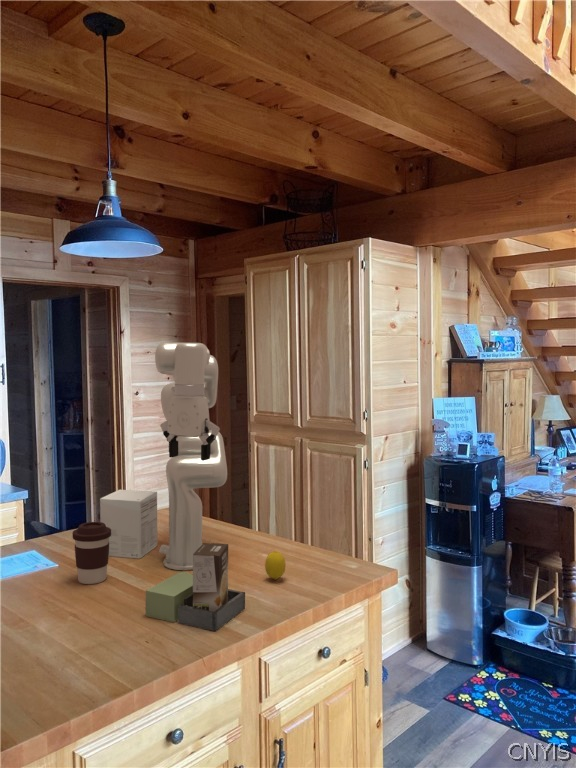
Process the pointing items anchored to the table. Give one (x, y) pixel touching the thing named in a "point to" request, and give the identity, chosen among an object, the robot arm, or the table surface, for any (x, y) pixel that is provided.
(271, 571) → the lemon
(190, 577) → the sage green box
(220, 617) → the frame
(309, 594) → the table surface
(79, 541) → the coffee cup
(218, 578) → the coffee box
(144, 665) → the table surface
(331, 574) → the table surface
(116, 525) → the supplement box
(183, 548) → the robot arm
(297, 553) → the table surface
